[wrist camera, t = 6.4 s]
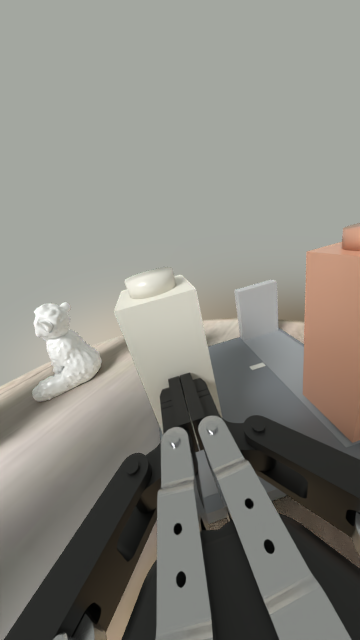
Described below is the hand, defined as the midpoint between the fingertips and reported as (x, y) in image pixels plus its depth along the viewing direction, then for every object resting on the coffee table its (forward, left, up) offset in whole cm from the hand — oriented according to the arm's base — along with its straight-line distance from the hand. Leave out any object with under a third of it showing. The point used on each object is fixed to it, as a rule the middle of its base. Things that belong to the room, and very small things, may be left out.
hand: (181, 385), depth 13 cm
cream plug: (0, +2, -6) cm, 7 cm away
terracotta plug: (+12, -1, -6) cm, 14 cm away
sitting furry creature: (-15, +18, -8) cm, 24 cm away
